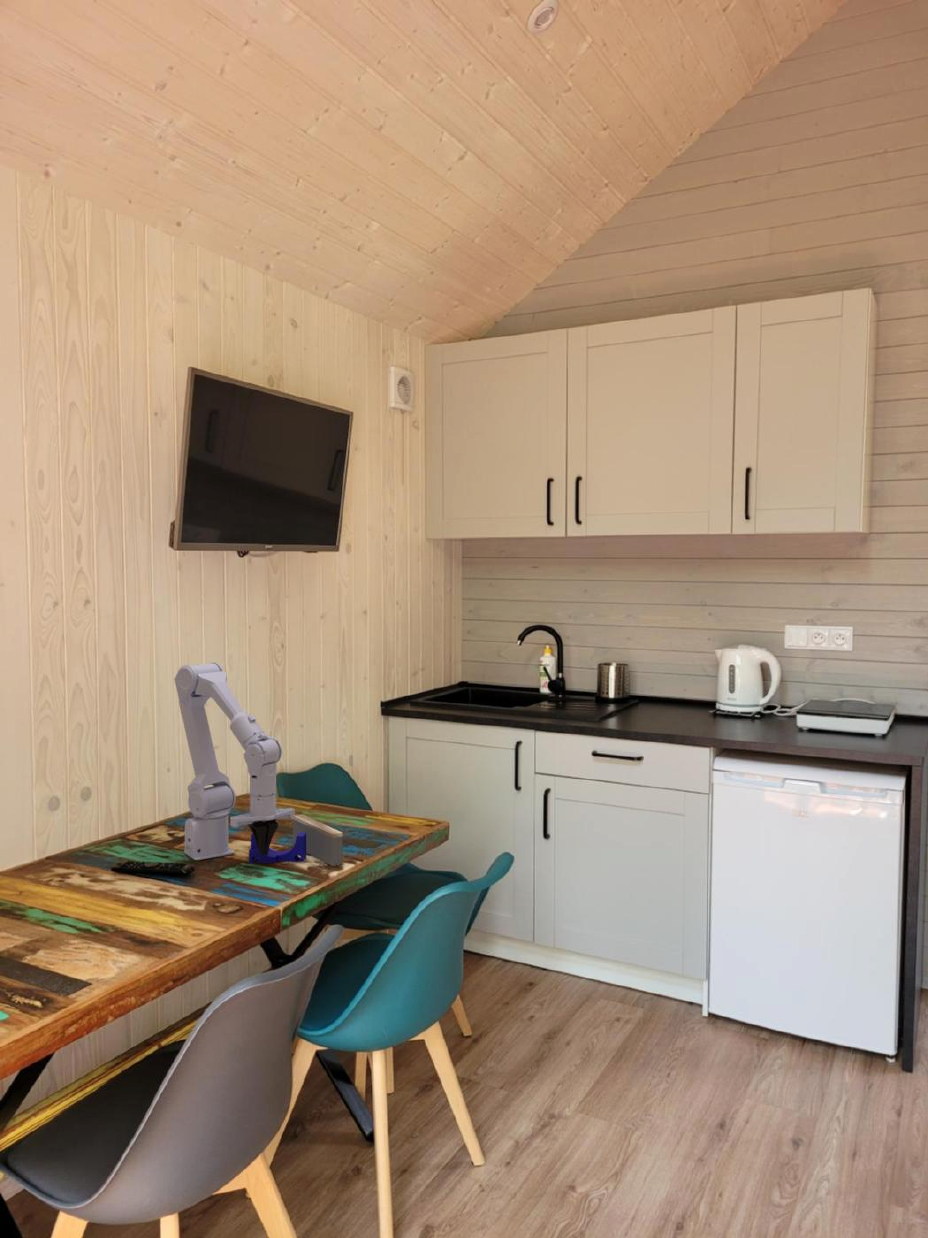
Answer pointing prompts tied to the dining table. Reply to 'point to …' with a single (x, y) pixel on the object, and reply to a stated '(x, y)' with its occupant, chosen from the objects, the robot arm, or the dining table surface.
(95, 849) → the dining table surface
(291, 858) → the blue half-round bracket
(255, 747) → the robot arm
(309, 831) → the wall board
